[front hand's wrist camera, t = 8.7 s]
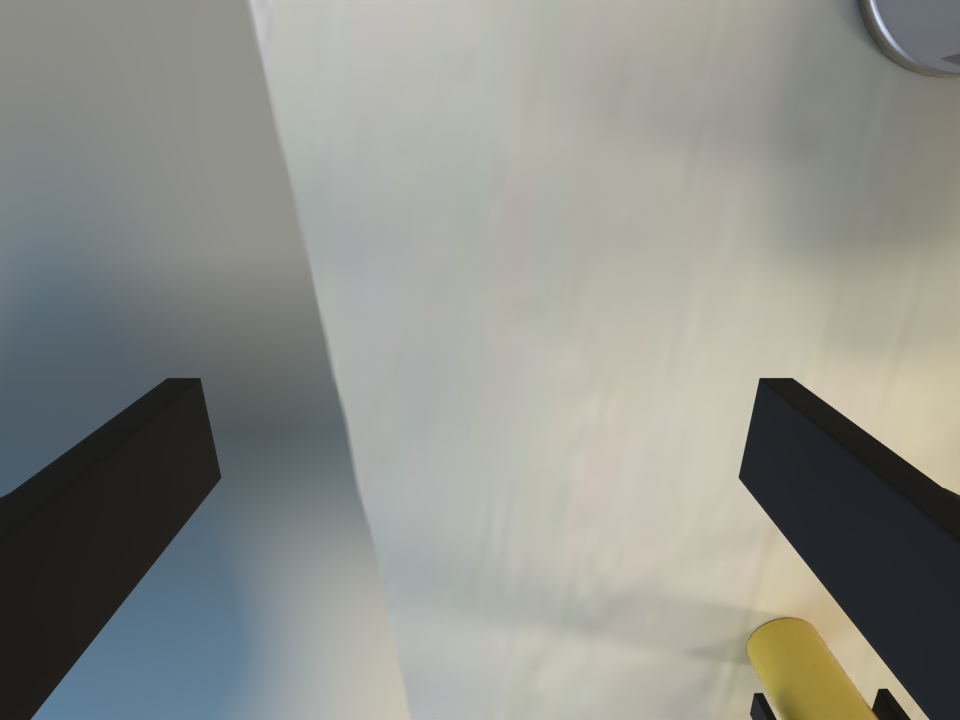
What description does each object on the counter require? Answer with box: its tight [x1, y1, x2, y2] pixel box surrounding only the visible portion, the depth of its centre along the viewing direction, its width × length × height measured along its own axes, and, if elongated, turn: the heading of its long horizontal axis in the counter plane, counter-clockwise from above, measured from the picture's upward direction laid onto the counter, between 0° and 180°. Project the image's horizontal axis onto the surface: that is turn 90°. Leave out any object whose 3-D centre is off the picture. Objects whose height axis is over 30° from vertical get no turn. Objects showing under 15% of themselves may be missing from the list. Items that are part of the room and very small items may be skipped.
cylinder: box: [746, 618, 879, 720], centre depth 47 cm, size 7×7×12 cm
